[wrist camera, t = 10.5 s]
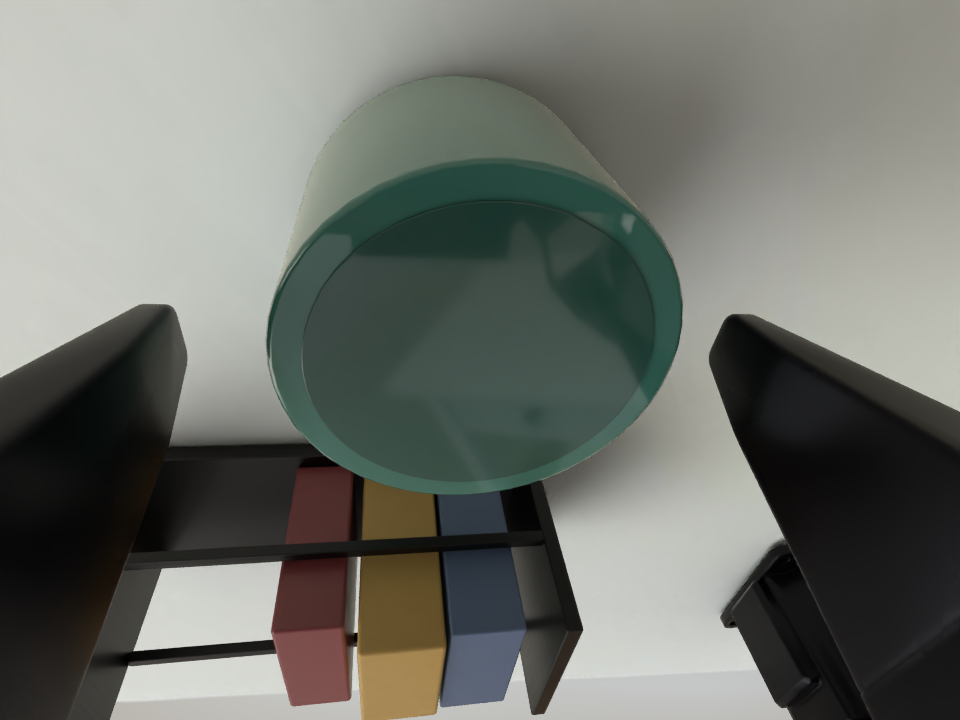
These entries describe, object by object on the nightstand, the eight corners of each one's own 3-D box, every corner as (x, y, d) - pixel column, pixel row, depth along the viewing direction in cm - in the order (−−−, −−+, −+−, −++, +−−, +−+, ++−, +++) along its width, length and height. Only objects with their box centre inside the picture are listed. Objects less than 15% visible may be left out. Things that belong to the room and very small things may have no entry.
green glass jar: (623, 85, 11) (756, 177, 7) (560, 342, 15) (622, 492, 11) (289, 54, 10) (225, 141, 6) (316, 340, 14) (289, 506, 10)
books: (493, 459, 17) (529, 638, 13) (479, 539, 19) (505, 709, 15) (296, 466, 16) (264, 662, 12) (309, 548, 18) (286, 733, 14)
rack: (530, 436, 17) (584, 628, 12) (508, 532, 20) (544, 714, 16) (108, 447, 15) (-16, 681, 10) (156, 552, 18) (77, 768, 14)
